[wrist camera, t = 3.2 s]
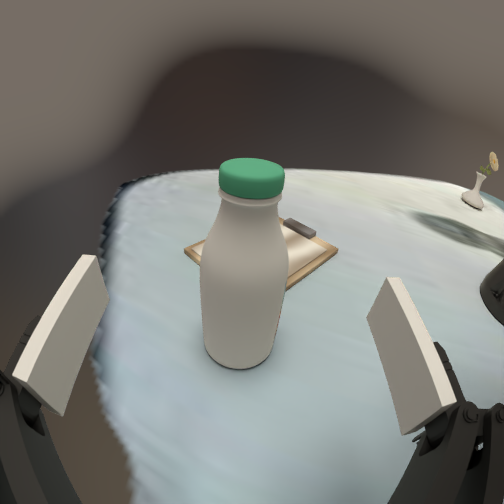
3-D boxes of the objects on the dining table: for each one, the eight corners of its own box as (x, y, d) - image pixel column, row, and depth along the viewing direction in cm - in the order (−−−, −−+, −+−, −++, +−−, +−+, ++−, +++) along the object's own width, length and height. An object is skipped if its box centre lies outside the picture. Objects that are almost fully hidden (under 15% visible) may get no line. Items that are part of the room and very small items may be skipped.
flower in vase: (467, 206, 80) (486, 148, 65) (456, 195, 89) (472, 140, 74) (488, 215, 78) (507, 159, 64) (476, 203, 87) (493, 151, 73)
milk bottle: (268, 376, 27) (310, 194, 15) (196, 363, 27) (178, 178, 16) (275, 322, 33) (306, 158, 21) (213, 312, 34) (214, 147, 22)
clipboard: (337, 252, 46) (339, 244, 45) (256, 311, 34) (258, 301, 33) (269, 215, 55) (270, 207, 54) (184, 252, 43) (183, 243, 42)
